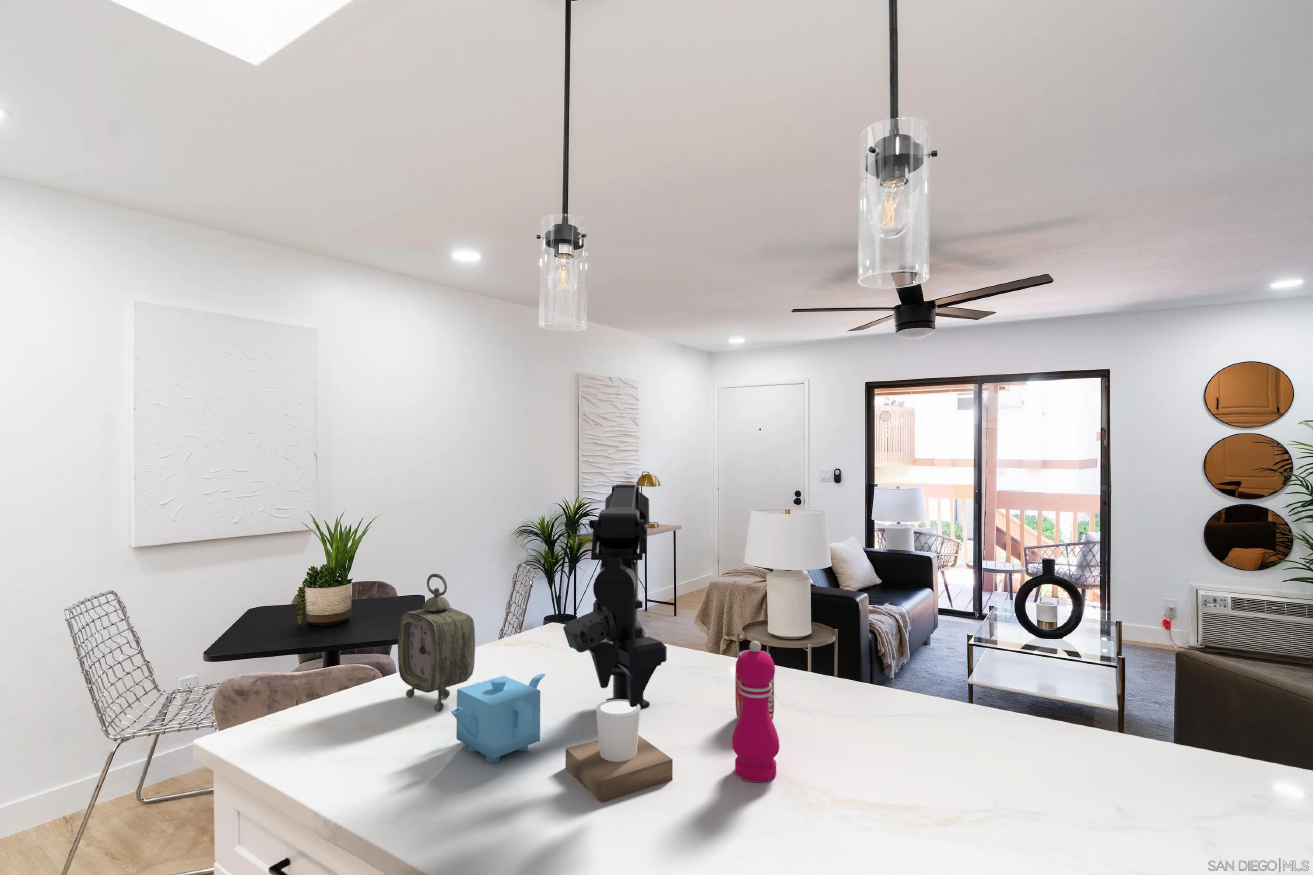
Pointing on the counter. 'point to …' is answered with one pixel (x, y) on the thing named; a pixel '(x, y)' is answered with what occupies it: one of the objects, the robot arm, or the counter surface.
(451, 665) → the tabletop clock
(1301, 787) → the counter surface
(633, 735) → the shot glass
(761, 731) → the pepper mill
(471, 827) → the counter surface
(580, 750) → the walnut base block
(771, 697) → the soda can
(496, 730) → the teapot
